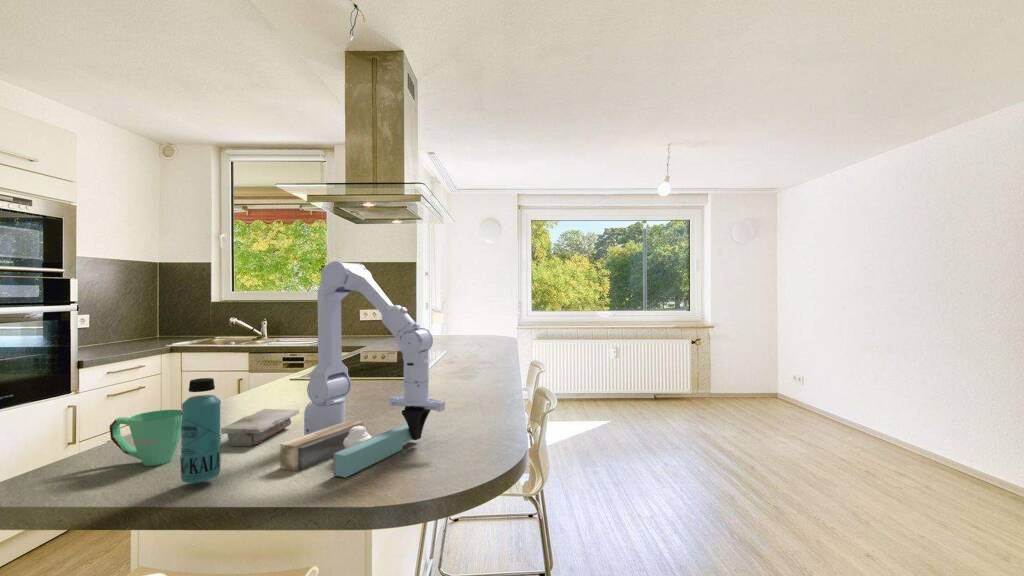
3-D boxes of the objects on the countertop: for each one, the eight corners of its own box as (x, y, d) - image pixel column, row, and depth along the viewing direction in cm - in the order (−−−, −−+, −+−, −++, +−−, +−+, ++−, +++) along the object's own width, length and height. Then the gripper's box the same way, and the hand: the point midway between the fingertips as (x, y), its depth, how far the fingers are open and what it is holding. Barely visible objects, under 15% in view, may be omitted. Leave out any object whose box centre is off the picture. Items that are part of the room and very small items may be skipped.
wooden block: (280, 468, 99) (280, 443, 99) (349, 440, 117) (349, 420, 117) (298, 472, 97) (298, 447, 97) (366, 443, 115) (366, 422, 115)
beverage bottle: (192, 478, 94) (192, 375, 94) (228, 477, 94) (228, 375, 94) (171, 492, 87) (172, 382, 87) (210, 491, 88) (210, 381, 88)
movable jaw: (333, 475, 94) (333, 453, 94) (409, 439, 117) (409, 421, 117) (345, 477, 93) (345, 455, 93) (420, 440, 116) (420, 423, 116)
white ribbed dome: (343, 464, 101) (343, 430, 101) (343, 455, 107) (342, 423, 107) (374, 459, 103) (373, 426, 103) (372, 451, 109) (371, 420, 109)
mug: (195, 453, 108) (195, 409, 108) (165, 470, 98) (165, 421, 98) (128, 454, 107) (129, 409, 108) (91, 471, 98) (91, 421, 98)
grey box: (218, 448, 112) (259, 449, 112) (218, 427, 112) (259, 428, 112) (264, 425, 130) (300, 426, 130) (264, 407, 130) (299, 408, 130)
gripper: (380, 381, 112) (380, 439, 111) (432, 386, 106) (432, 448, 106) (399, 376, 118) (399, 431, 118) (449, 380, 112) (449, 438, 112)
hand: (416, 438), depth 112 cm, fingers closed
